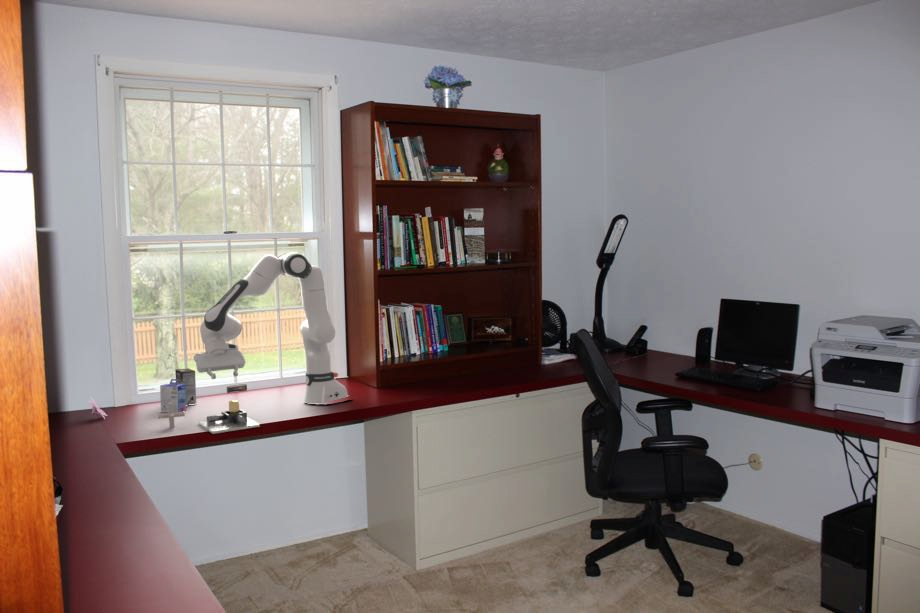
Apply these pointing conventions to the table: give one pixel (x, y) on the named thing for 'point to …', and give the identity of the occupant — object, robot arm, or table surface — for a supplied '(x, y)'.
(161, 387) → the ink cartridge box
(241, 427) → the base
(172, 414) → the pipe connector
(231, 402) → the tan upright block
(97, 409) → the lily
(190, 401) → the coffee box
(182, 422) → the table surface
